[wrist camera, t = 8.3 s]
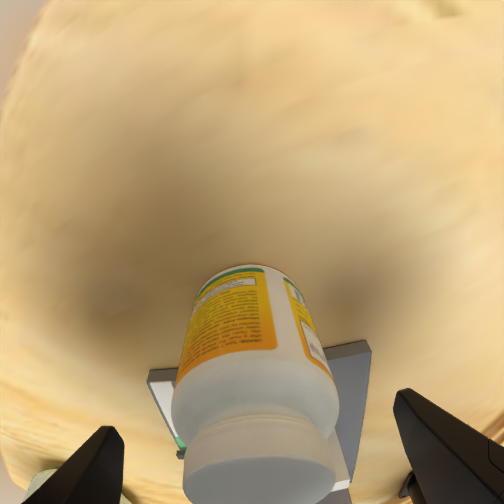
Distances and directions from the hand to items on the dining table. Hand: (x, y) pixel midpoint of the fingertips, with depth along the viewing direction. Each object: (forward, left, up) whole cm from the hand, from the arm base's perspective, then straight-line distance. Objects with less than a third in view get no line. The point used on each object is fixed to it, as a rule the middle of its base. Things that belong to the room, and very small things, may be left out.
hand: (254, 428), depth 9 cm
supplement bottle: (0, 0, -8) cm, 8 cm away
